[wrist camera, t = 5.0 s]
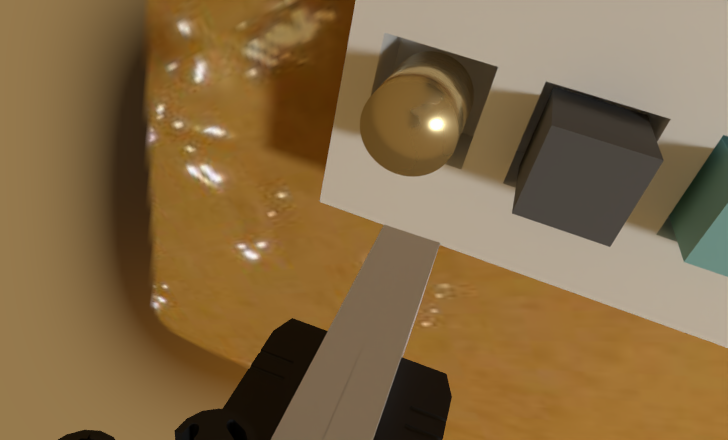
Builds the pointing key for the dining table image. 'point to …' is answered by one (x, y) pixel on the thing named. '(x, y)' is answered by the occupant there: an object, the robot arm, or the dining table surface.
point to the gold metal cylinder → (418, 114)
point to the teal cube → (705, 214)
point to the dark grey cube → (586, 166)
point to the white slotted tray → (517, 124)
